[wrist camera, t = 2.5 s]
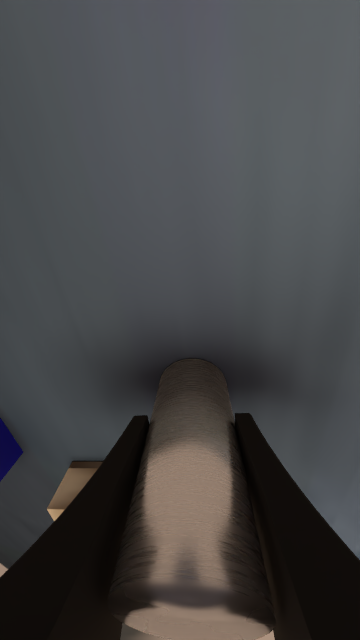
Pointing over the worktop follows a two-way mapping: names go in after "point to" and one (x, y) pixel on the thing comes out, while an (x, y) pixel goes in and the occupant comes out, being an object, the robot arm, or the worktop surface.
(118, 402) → the worktop surface
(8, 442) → the blue curved cradle
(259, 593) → the pin
